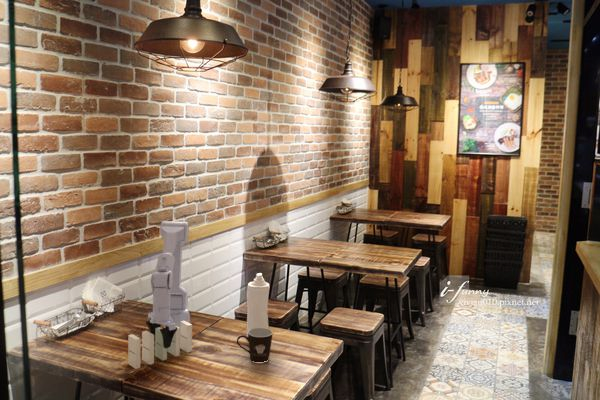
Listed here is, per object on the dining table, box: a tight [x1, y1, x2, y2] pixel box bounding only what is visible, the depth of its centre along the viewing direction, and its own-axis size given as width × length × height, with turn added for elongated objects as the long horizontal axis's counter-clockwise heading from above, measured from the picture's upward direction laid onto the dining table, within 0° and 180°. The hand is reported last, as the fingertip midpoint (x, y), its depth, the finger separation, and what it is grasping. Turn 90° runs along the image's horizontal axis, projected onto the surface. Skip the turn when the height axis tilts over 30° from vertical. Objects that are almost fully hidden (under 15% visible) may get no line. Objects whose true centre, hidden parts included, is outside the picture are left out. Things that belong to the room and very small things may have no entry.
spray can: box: [246, 272, 271, 337], centre depth 197 cm, size 12×11×25 cm
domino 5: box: [180, 321, 193, 353], centre depth 184 cm, size 2×5×10 cm, turn 46°
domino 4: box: [167, 326, 181, 357], centre depth 181 cm, size 2×5×10 cm, turn 46°
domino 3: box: [154, 327, 168, 361], centre depth 177 cm, size 2×5×10 cm, turn 46°
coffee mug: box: [236, 328, 274, 362], centre depth 179 cm, size 12×9×10 cm
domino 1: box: [127, 333, 141, 370], centre depth 170 cm, size 2×5×10 cm, turn 46°
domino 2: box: [141, 330, 155, 365], centre depth 174 cm, size 2×5×10 cm, turn 46°
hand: (161, 343), depth 177 cm, fingers open, 7 cm apart
